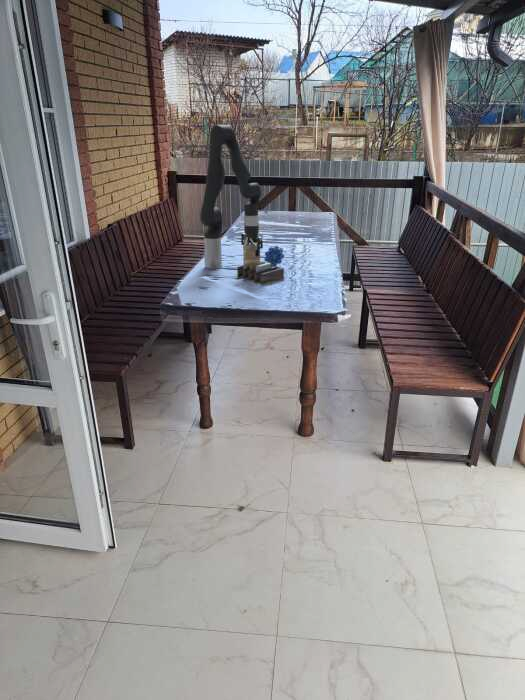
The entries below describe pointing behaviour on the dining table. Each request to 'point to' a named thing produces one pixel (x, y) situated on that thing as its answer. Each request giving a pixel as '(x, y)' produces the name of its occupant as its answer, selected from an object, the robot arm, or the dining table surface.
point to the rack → (260, 274)
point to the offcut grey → (263, 266)
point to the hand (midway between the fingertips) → (252, 254)
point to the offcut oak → (253, 265)
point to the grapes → (274, 256)
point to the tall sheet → (249, 255)
